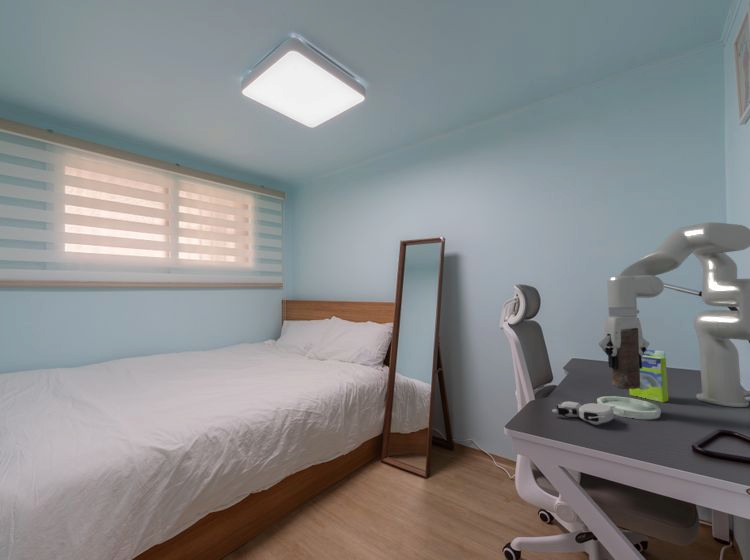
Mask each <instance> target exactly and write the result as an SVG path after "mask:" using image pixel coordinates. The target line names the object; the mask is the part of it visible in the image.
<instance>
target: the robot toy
mask: <svg viewBox="0 0 750 560" xmlns="http://www.w3.org/2000/svg"><path fill="white" fill-rule="evenodd" d="M612 407H613V408H615V407H616V406H611V407H610V406H608V405H603V404H598V403H594V402H591V403H589V402H588V403H585V404H583V405H582V404H581V403H580V402H574V401H569V400H568V401H564V402H560V403H558V404H557V405H556V408H553V409H551V412H552V413H553V414H554V413H555V414H558V415H559V416H561V415H562V416H565V417H566V416H567V417H568V418H573V417H574V418H579V419H580V418H581V419H582V420H583V421H586V422H589V424H592V425H594V426H599V425H601V424H606V423H609V422H610V421H612V420H613V419H614V417H615V415H614V413H613V409H612Z"/></svg>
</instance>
